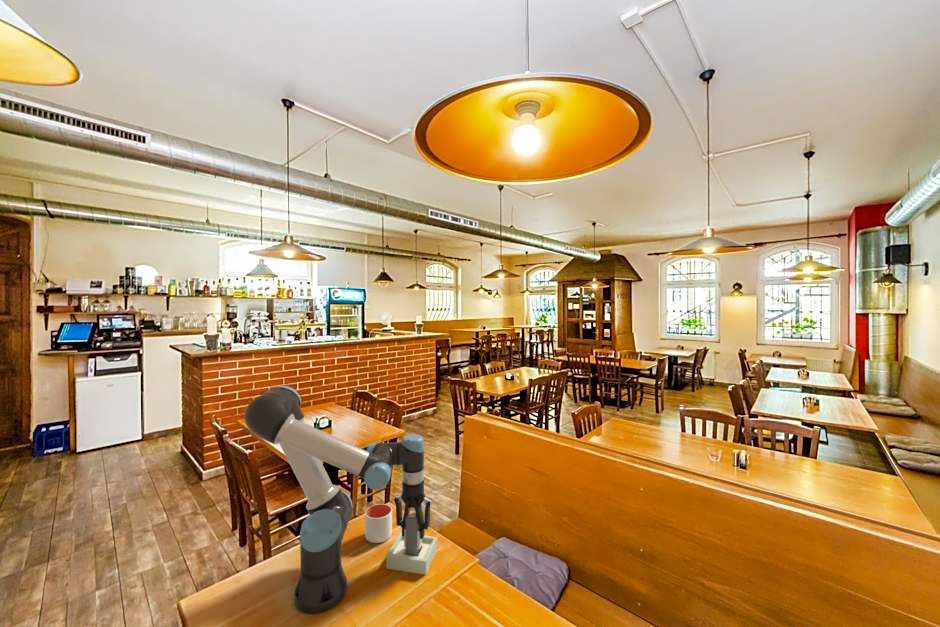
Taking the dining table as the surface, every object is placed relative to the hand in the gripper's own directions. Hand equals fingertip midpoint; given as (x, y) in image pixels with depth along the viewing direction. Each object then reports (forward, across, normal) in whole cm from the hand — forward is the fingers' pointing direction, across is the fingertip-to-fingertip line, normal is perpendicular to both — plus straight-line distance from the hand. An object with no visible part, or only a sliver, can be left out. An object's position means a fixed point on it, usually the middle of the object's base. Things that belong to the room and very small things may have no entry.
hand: (413, 545), depth 133 cm
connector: (+2, 0, 0) cm, 2 cm away
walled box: (+5, 0, 0) cm, 5 cm away
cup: (+5, -17, +9) cm, 20 cm away
